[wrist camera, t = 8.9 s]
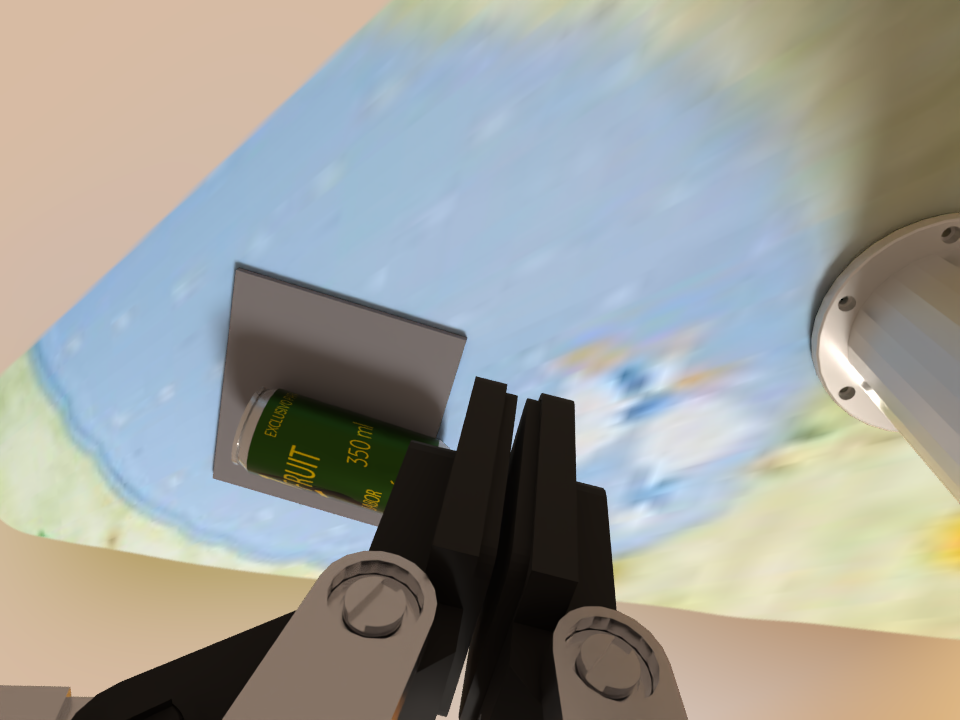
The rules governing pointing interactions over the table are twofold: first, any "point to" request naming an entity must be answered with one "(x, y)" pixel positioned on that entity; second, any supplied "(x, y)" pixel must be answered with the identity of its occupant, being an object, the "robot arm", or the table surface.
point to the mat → (329, 369)
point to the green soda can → (322, 448)
